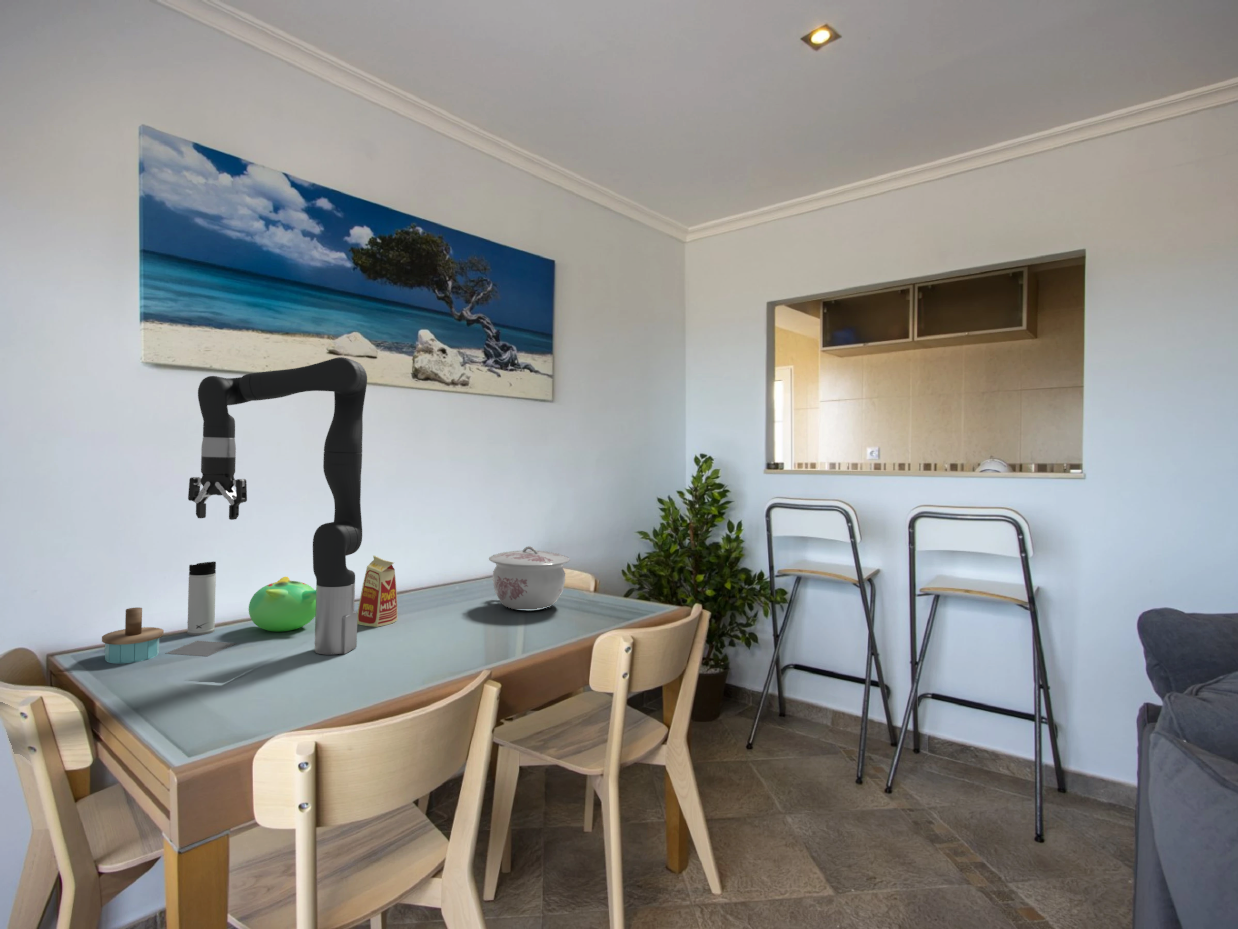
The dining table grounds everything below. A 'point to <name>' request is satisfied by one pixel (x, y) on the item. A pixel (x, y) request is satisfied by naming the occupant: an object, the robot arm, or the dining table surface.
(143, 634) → the lid
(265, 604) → the toy bird
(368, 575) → the milk carton
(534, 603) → the chamber pot
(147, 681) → the dining table surface
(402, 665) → the dining table surface
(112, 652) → the bowl
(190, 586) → the travel mug
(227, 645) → the mat
